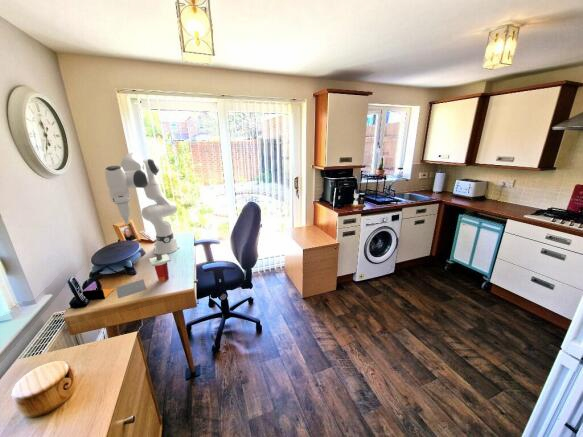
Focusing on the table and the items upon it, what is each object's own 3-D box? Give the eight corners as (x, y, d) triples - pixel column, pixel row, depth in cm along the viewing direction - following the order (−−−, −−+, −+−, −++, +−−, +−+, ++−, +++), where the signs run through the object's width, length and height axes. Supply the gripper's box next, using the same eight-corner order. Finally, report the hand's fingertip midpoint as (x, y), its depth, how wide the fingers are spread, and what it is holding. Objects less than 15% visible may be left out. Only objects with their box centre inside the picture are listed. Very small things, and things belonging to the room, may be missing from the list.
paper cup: (168, 275, 155) (164, 256, 151) (172, 280, 150) (168, 260, 146) (155, 280, 150) (150, 260, 146) (159, 285, 145) (154, 264, 140)
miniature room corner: (81, 303, 129) (78, 293, 127) (95, 290, 140) (92, 280, 138) (105, 301, 131) (102, 290, 129) (117, 289, 142) (115, 278, 140)
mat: (116, 288, 142) (116, 287, 142) (143, 279, 151) (143, 279, 150) (118, 299, 132) (118, 298, 132) (147, 290, 140) (146, 289, 140)
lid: (149, 260, 146) (147, 253, 145) (166, 255, 152) (165, 248, 151) (152, 266, 139) (150, 259, 138) (170, 260, 145) (169, 254, 144)
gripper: (112, 194, 134) (117, 218, 139) (114, 201, 119) (120, 227, 123) (125, 193, 138) (130, 216, 142) (129, 199, 123) (135, 224, 127)
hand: (126, 221), depth 133 cm, fingers open, 8 cm apart
